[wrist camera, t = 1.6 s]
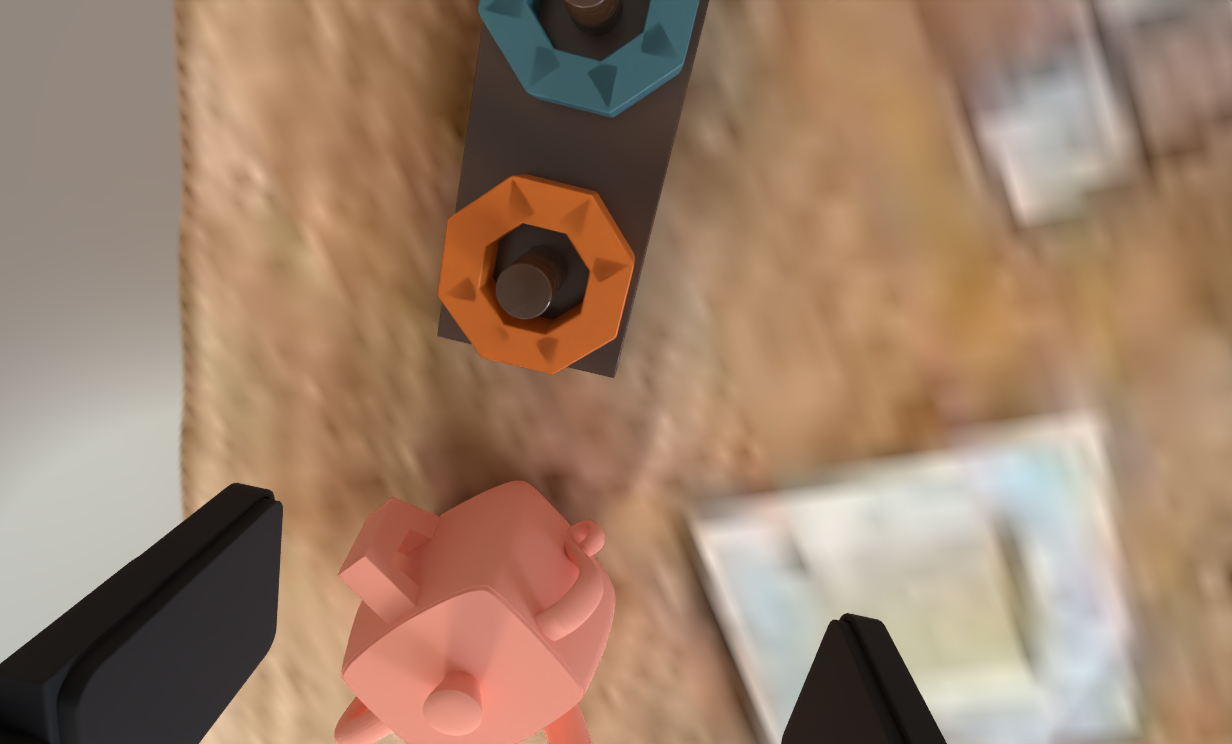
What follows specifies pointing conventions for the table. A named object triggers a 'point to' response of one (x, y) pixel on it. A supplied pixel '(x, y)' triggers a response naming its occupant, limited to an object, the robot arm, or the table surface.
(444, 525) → the teapot
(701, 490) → the table surface
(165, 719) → the robot arm
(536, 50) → the teal faceted ring
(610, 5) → the stand
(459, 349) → the table surface
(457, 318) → the orange octagonal ring
